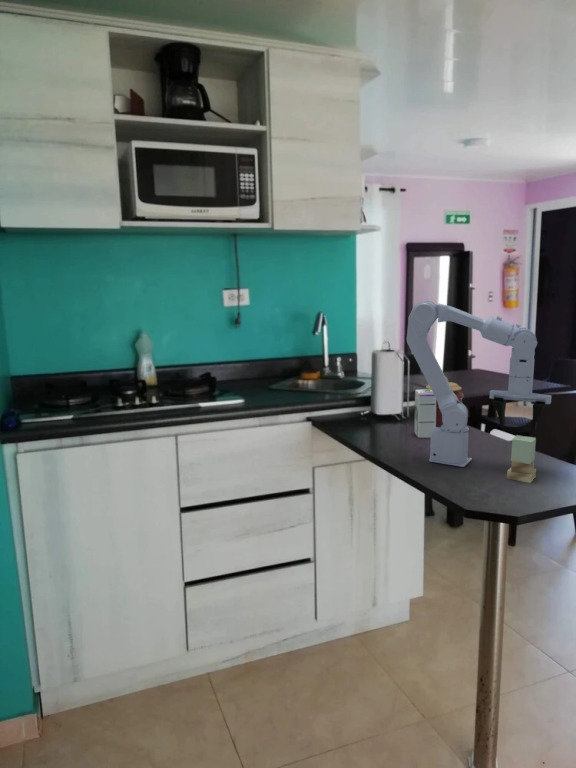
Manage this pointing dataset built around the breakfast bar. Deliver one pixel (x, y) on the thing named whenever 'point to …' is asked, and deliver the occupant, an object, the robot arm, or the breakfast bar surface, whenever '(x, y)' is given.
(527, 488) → the breakfast bar surface
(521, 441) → the block
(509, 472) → the slab bottom
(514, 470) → the slab top
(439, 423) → the canister
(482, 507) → the breakfast bar surface
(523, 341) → the robot arm
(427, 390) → the syrup box
